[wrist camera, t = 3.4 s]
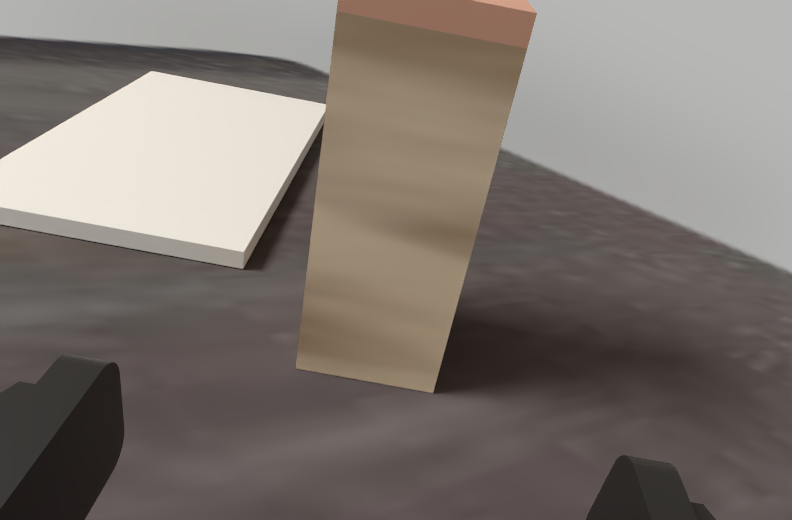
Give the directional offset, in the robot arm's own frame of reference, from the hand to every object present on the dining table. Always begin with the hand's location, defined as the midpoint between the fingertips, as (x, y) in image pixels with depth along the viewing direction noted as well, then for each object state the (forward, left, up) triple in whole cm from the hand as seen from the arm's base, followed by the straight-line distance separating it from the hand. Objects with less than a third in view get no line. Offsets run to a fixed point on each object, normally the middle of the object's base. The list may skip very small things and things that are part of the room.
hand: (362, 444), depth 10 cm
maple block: (-8, -7, -6) cm, 12 cm away
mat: (-11, -24, -6) cm, 27 cm away
